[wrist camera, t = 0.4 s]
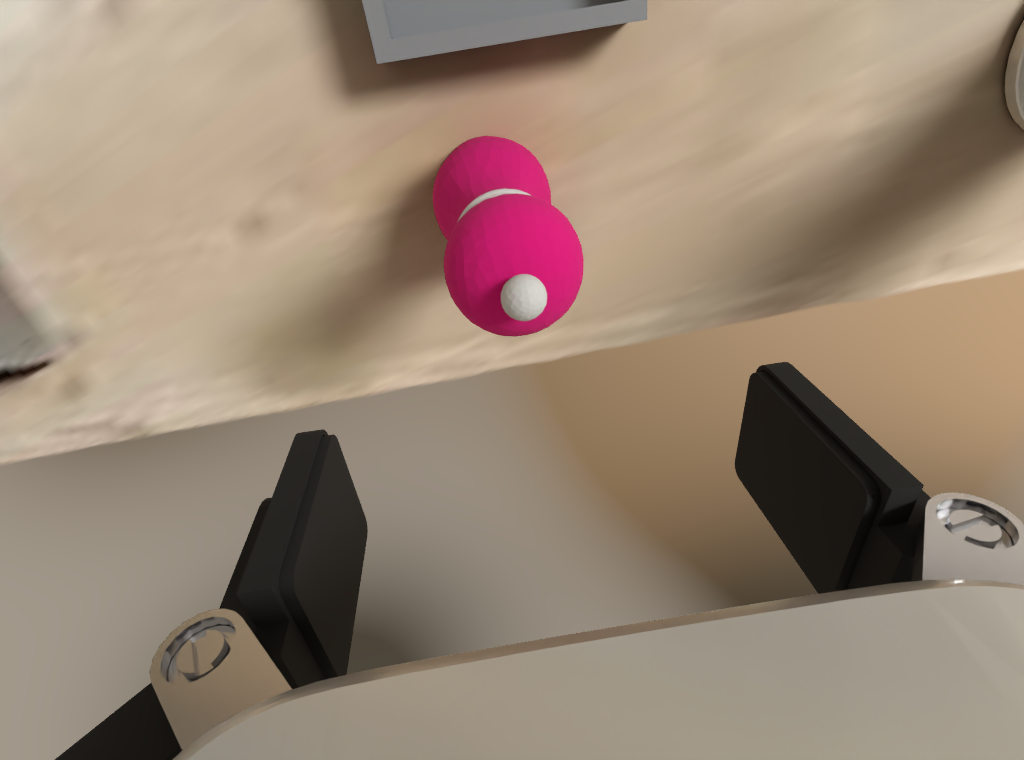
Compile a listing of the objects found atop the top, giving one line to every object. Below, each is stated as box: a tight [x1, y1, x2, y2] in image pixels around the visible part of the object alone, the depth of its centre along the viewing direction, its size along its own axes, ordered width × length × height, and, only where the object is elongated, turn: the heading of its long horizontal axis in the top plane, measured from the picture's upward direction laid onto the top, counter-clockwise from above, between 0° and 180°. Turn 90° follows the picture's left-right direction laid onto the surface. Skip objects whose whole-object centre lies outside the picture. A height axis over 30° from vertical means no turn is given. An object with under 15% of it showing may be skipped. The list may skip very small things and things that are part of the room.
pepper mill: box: [433, 136, 583, 336], centre depth 28 cm, size 7×7×20 cm
